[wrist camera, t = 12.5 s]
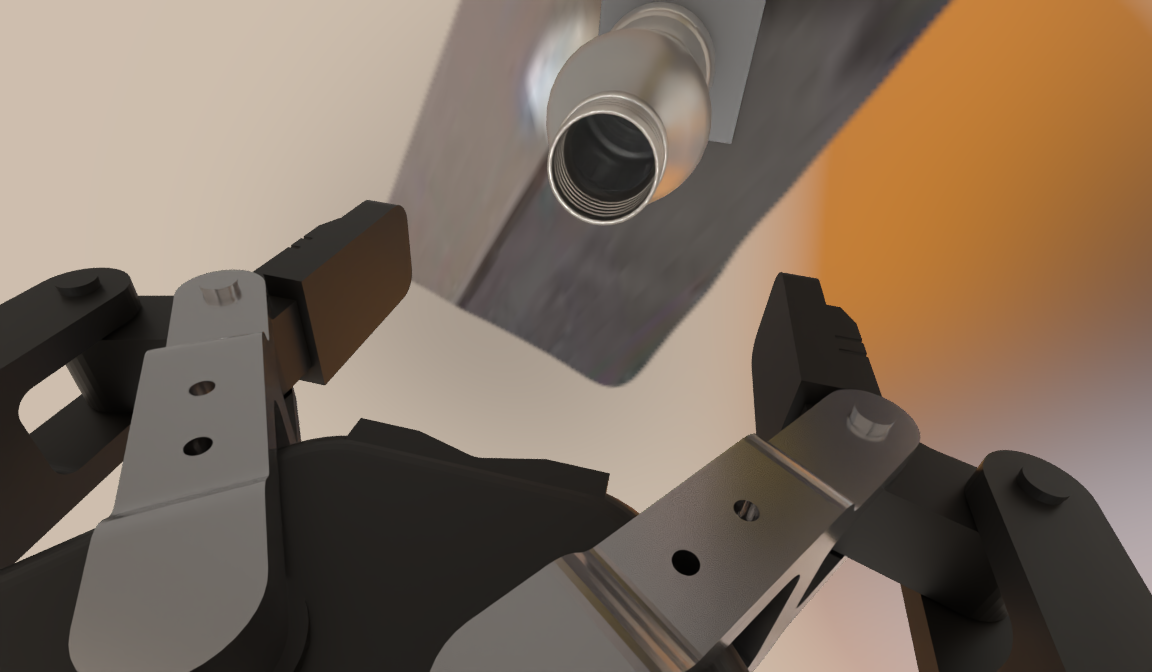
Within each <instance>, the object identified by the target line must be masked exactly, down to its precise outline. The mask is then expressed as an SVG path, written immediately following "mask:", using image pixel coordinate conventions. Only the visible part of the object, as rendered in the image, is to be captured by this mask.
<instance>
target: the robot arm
mask: <svg viewBox="0 0 1152 672" xmlns="http://www.w3.org/2000/svg"><path fill="white" fill-rule="evenodd" d="M411 278H412V266H411V255H410V244H409V234H408V223H407V215H406V212H405V210H404V208H403V207H402V206H400V205H394V204H388V203H382V202H377V201H371V200H366V201H364V202H362V203H361V204H360V205H358V206H357V207H355V208H354V209H353V210H351V211H350V212H348V213H347V214H346V215H344V216H343V217H342V218H339V219H336V220H333V221H330V222H328V223H325V224H322V225H319V226H318V227H316V228H315V229H314V230H312V231H311V232H309V233H308V234H306V235H305V236H304V239H302V238H301V239H299V240H298V241H297V242H295V243H294V244H292V245H291V248H289V247H288V248H286V249H285V250H284V251H282V252H281V253H279V254H278V255H276V256H275V257H274V258H272V259H271V260H269V261H268V262H266V263H265V264H264V265H262V266H261V267H259V268H258V269H256V270H255V271H254V272H250V271H245V270H221V271H215V272H210V273H206V274H203V275H200V276H198V277H195V278H192V279H191V280H189V281H187V282H185V283H184V284H182V285H181V286H180V287H179V288H178V289H177V290H176V292H175V294H174V296H138V295H137V293H136V290H135V288H134V286H133V283H132V281H131V279H130V276H129V275H128V274H127V273H125V272H124V271H121V270H117V269H112V268H89V269H82V270H76V271H71V272H67V273H64V274H61V275H57V276H55V277H52V278H50V279H48V280H46V281H43V282H42V283H40V284H38V285H36V286H34V287H32V288H30V289H29V290H27V291H25V292H23V293H21V294H19V295H18V296H16V297H14V298H12V299H10V300H8V301H6V302H4V303H3V304H1V305H0V672H753V671H754V670H755V669H756V667H757V666H758V665H759V664H760V662H761V661H762V660H763V659H764V657H765V656H766V655H767V654H768V652H769V651H770V649H771V648H772V647H773V645H774V644H775V643H776V641H777V640H778V638H779V637H780V635H781V634H782V633H783V632H784V630H785V629H786V628H787V626H788V625H789V624H790V623H791V622H792V620H793V619H794V618H795V617H796V616H797V615H798V614H799V612H800V611H801V610H802V609H803V608H804V607H805V606H806V605H807V603H808V602H809V601H810V600H811V599H812V598H813V597H814V595H815V594H816V593H817V592H818V591H819V590H820V588H821V587H822V586H823V585H824V584H825V583H826V582H827V581H828V580H829V578H830V577H831V576H832V575H833V574H834V573H835V571H836V570H837V569H838V568H839V567H840V566H841V565H842V564H843V563H844V561H845V560H846V559H847V558H850V559H852V560H854V561H856V562H858V563H860V564H862V565H864V566H866V567H868V568H870V569H872V570H875V571H876V572H878V573H880V574H882V575H884V576H886V577H888V578H890V579H892V580H894V581H896V582H898V583H900V584H901V589H902V593H903V598H904V603H905V608H906V613H907V617H908V622H909V627H910V632H911V636H912V641H913V645H914V651H915V655H916V660H917V665H918V669H919V672H1152V595H1151V593H1150V591H1149V590H1148V588H1147V586H1146V584H1145V583H1144V581H1143V579H1142V578H1141V576H1140V574H1139V573H1138V571H1137V569H1136V568H1135V566H1134V564H1133V563H1132V561H1131V559H1130V558H1129V556H1128V554H1127V553H1126V551H1125V549H1124V547H1123V546H1122V544H1121V542H1120V541H1119V539H1118V537H1117V536H1116V534H1115V532H1114V531H1113V529H1112V527H1111V526H1110V524H1109V522H1108V521H1107V519H1106V517H1105V516H1104V514H1103V512H1102V510H1101V509H1100V507H1099V505H1098V504H1097V502H1096V501H1095V499H1094V498H1093V496H1092V495H1091V494H1090V493H1089V492H1088V490H1087V489H1086V488H1084V486H1083V485H1081V484H1080V483H1079V482H1078V481H1077V480H1076V479H1074V478H1073V477H1072V476H1070V475H1069V474H1068V473H1066V472H1065V471H1063V470H1061V469H1060V468H1058V467H1056V466H1055V465H1053V464H1051V463H1049V462H1047V461H1045V460H1043V459H1040V458H1038V457H1035V456H1032V455H1029V454H1026V453H1022V452H1017V451H1009V450H1000V451H995V452H992V453H990V454H988V455H987V456H986V457H985V459H984V460H983V461H982V462H981V464H980V465H979V467H978V468H977V467H974V466H972V465H970V464H967V463H965V462H962V461H960V460H957V459H955V458H953V457H950V456H947V455H945V454H943V453H940V452H938V451H936V450H934V449H931V448H929V447H927V446H925V445H924V444H922V443H920V432H919V429H918V427H917V425H916V423H915V422H914V420H913V419H912V418H911V417H910V416H909V415H908V414H907V413H906V412H905V411H904V410H903V409H901V408H900V407H899V406H897V405H896V404H894V403H893V402H891V401H889V400H887V399H885V398H883V397H882V396H881V393H880V390H879V387H878V384H877V381H876V378H875V375H874V373H873V370H872V367H871V364H870V362H869V358H868V357H866V354H867V353H866V350H865V347H864V344H863V343H861V342H862V338H861V335H860V333H859V330H858V327H857V324H856V323H855V322H854V321H853V320H852V319H851V318H850V317H849V316H848V315H847V314H846V313H845V312H844V310H842V308H840V307H836V306H830V305H826V302H825V299H824V295H823V292H822V288H821V285H820V282H819V280H818V279H816V278H811V277H805V276H799V275H793V274H788V273H782V272H780V273H779V274H778V275H777V277H776V279H775V281H774V284H773V287H772V290H771V293H770V296H769V300H768V302H767V305H766V308H765V311H764V314H763V317H762V320H761V323H760V326H759V329H758V332H757V335H756V339H755V343H754V347H753V353H752V377H753V393H754V407H755V421H756V434H750V435H748V436H746V437H745V438H743V439H742V440H740V441H739V442H737V443H736V444H735V445H733V446H732V447H730V448H729V449H728V450H727V451H725V452H724V453H722V454H721V455H720V456H718V457H717V458H715V459H714V460H713V461H711V462H710V463H709V464H707V465H706V466H704V467H703V468H702V469H700V470H699V471H698V472H696V473H695V474H694V475H692V476H691V477H690V478H688V479H687V480H685V481H684V482H683V483H681V484H680V485H679V486H677V487H676V488H674V489H673V490H672V491H670V492H669V493H668V494H666V495H665V496H664V497H662V498H661V499H659V500H658V501H657V502H655V503H654V504H653V505H651V506H650V507H648V508H647V509H646V510H644V511H643V512H642V513H640V514H639V513H638V512H637V511H635V510H634V509H633V508H632V507H630V506H628V505H627V504H625V503H623V502H622V501H620V500H619V499H617V498H615V497H613V496H611V495H608V494H607V493H606V492H607V486H608V481H609V475H610V474H609V473H605V472H600V471H596V470H592V469H587V468H583V467H578V466H574V465H569V464H565V463H560V462H556V461H551V460H547V459H505V458H504V459H503V458H478V457H473V456H471V455H469V454H466V453H464V452H462V451H460V450H458V449H456V448H454V447H452V446H450V445H448V444H445V443H443V442H441V441H439V440H437V439H435V438H433V437H431V436H429V435H427V434H425V433H422V432H420V431H417V430H413V429H408V428H404V427H399V426H394V425H390V424H385V423H381V422H377V421H372V420H367V419H363V418H361V419H360V420H359V421H358V423H357V424H356V425H355V426H354V428H353V429H352V430H351V432H350V433H349V434H348V436H332V437H322V438H317V439H310V440H306V441H302V442H301V435H300V427H299V418H298V410H297V401H296V396H295V392H294V388H293V385H294V384H295V383H296V382H297V381H298V380H303V381H307V382H312V383H317V384H321V385H326V384H327V382H328V381H329V380H330V379H331V378H332V377H333V376H334V375H335V374H336V372H337V371H338V370H339V369H340V368H341V367H342V366H343V365H344V364H345V363H346V361H347V360H348V359H349V358H350V357H351V356H352V355H353V354H354V353H355V351H356V350H357V349H358V348H359V347H360V346H361V345H362V344H363V343H364V341H365V340H366V339H367V338H368V337H369V336H370V335H371V334H372V333H373V331H374V330H375V329H376V328H377V327H378V326H379V325H380V324H381V323H382V321H383V320H384V319H385V318H386V317H387V316H388V315H389V314H390V312H391V311H392V310H393V309H394V308H395V307H396V306H397V305H398V304H399V303H400V301H401V300H402V299H403V298H404V297H405V295H406V294H407V292H408V290H409V287H410V283H411ZM64 365H66V366H67V368H68V370H69V372H70V373H71V375H72V377H73V379H74V380H75V382H76V384H77V386H78V387H79V389H80V391H81V393H82V394H81V395H80V396H79V397H78V398H76V399H75V400H74V401H72V402H71V403H70V404H68V405H67V406H66V407H64V408H63V409H62V410H60V411H59V412H58V413H57V414H55V415H54V416H53V417H51V418H50V419H49V420H48V421H46V422H45V423H43V424H42V425H41V426H39V427H38V428H37V429H36V430H34V431H33V432H32V433H30V434H29V433H28V432H27V431H26V429H25V427H24V426H23V425H22V423H21V421H20V419H19V416H18V410H19V405H20V402H21V400H22V398H23V397H24V395H25V394H26V393H27V392H28V391H29V390H30V389H31V388H32V387H33V386H35V385H37V384H38V383H40V382H41V381H42V380H44V379H45V378H47V377H48V376H50V375H51V374H52V373H54V372H56V371H57V370H58V369H60V368H61V367H63V366H64ZM122 462H123V465H122V470H121V475H120V480H119V485H118V490H117V495H116V500H115V505H114V509H113V511H112V513H111V515H110V516H109V517H108V518H106V519H104V520H102V521H101V522H100V523H99V524H98V525H97V526H96V528H95V529H92V530H90V531H88V532H85V533H84V534H81V535H79V536H76V537H74V538H72V539H69V540H67V541H65V542H63V543H61V544H58V545H56V546H53V547H51V548H49V549H47V550H44V551H42V552H40V553H38V554H35V555H33V556H30V557H28V558H26V559H23V560H21V561H19V562H17V563H15V562H16V561H17V560H18V559H19V558H20V557H21V556H23V555H24V554H25V553H26V552H27V551H28V550H29V549H30V548H31V547H32V546H33V545H34V544H35V543H36V542H37V541H38V540H40V539H41V538H42V537H43V536H44V535H45V534H46V533H47V532H48V531H49V530H50V529H51V528H52V527H53V526H55V524H56V523H58V522H59V521H60V520H61V519H62V518H63V517H64V516H65V515H66V514H67V513H68V512H69V511H70V510H72V509H73V508H74V507H75V506H76V505H77V504H78V503H79V502H80V501H81V500H82V499H83V498H84V497H85V496H86V495H88V494H89V492H90V491H92V490H93V489H94V488H95V487H96V486H97V485H98V484H99V483H100V482H101V481H102V480H104V478H106V477H107V476H108V475H109V474H110V473H111V472H112V471H113V470H114V469H115V468H116V467H117V466H118V465H119V464H120V463H122Z"/></svg>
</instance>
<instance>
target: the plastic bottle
mask: <svg viewBox="0 0 1152 672" xmlns="http://www.w3.org/2000/svg"><path fill="white" fill-rule="evenodd" d="M714 73H715V53H714V47H713V43H712V40H711V37H710V35H709V32H708V31H707V29H706V27H705V26H704V24H703V23H702V21H701V20H700V19H699V18H698V17H697V16H696V15H695V14H694V13H692V12H691V11H689V10H687V9H686V8H684V7H682V6H679V5H676V4H673V3H668V2H655V3H648V4H645V5H642V6H640V7H637V8H635V9H633V10H632V11H630V12H629V13H627V14H626V15H624V16H623V17H622V18H621V19H620V20H619V21H618V22H617V23H616V24H615V25H614V27H613V28H612V30H611V31H610V32H608V33H605V34H602V35H600V36H597V37H595V38H593V39H592V40H590V41H589V42H587V43H586V44H584V45H583V46H581V47H580V48H579V49H578V50H577V51H576V52H575V53H574V54H573V55H572V56H571V57H570V58H569V59H568V60H567V61H566V63H565V64H564V66H563V67H562V69H561V70H560V72H559V73H558V75H557V77H556V80H555V82H554V84H553V87H552V89H551V92H550V97H549V101H548V106H547V121H546V126H547V135H548V142H549V147H550V150H549V155H548V163H547V171H548V179H549V183H550V186H551V189H552V191H553V193H554V195H555V197H556V198H557V200H558V201H559V203H560V204H561V205H562V206H563V208H564V209H565V210H567V211H568V212H569V213H570V214H571V215H573V216H574V217H576V218H578V219H580V220H581V221H584V222H587V223H590V224H596V225H613V224H617V223H621V222H624V221H626V220H628V219H630V218H632V217H634V216H635V215H636V214H638V213H639V212H640V211H641V210H642V209H643V208H644V207H645V206H646V205H647V204H650V203H652V202H654V201H656V200H658V199H660V198H662V197H664V196H666V195H668V194H669V193H671V192H672V191H673V190H675V189H676V188H677V187H679V186H680V185H681V184H682V183H683V182H684V181H685V180H686V179H687V178H688V177H689V176H690V175H691V174H692V172H693V171H694V169H695V167H696V166H697V164H698V163H699V161H700V160H701V158H702V155H703V153H704V150H705V148H706V146H707V143H708V139H709V134H710V129H711V114H712V107H711V101H710V95H709V91H710V88H711V86H712V83H713V78H714Z"/></svg>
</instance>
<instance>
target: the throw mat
mask: <svg viewBox="0 0 1152 672" xmlns="http://www.w3.org/2000/svg"><path fill="white" fill-rule="evenodd" d="M655 2H668V3H673V4H676V5H679V6H682V7H684V8H686V9H687V10H689V11H691V12H692V13H694V14H695V15H696V16H697V17H698V18H699V19H700V20H701V21H702V23H703V24H704V26H705V27H706V29H707V31H708V32H709V35H710V37H711V40H712V43H713V47H714V53H715V73H714V78H713V83H712V86H711V88H710V91H709V95H710V101H711V107H712V114H711V129H710V134H709V139H708V141H715V142H721V143H728V144H731V142H732V138H733V134H734V130H735V126H736V122H737V118H738V114H739V109H740V105H741V101H742V97H743V93H744V89H745V85H746V81H747V76H748V72H749V68H750V64H751V60H752V56H753V52H754V48H755V44H756V39H757V35H758V31H759V27H760V23H761V19H762V15H763V11H764V6H765V2H766V0H602V4H601V14H600V25H599V35H598V36H600V35H602V34H605V33H608V32H610V31H611V30H612V28H613V27H614V25H615V24H616V23H617V22H618V21H619V20H620V19H621V18H622V17H623V16H624V15H626V14H627V13H629V12H630V11H632V10H633V9H635V8H637V7H640V6H642V5H645V4H648V3H655Z"/></svg>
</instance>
